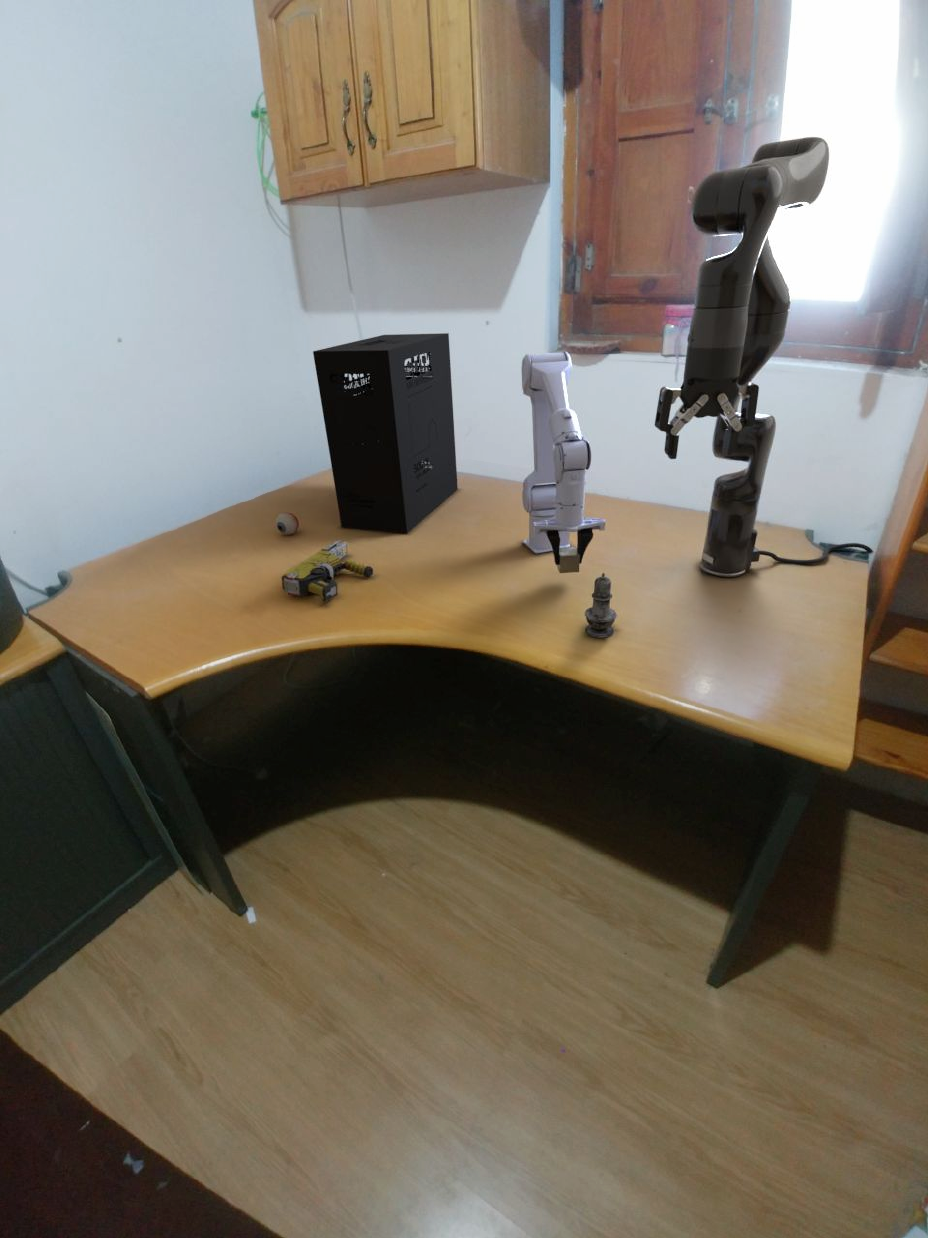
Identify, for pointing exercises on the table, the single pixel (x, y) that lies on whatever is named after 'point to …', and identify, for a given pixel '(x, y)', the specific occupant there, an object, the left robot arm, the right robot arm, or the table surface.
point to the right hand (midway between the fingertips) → (699, 456)
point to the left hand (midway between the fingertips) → (567, 562)
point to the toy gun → (321, 572)
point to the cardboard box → (389, 428)
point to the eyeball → (287, 523)
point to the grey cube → (568, 560)
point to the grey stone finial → (600, 610)
